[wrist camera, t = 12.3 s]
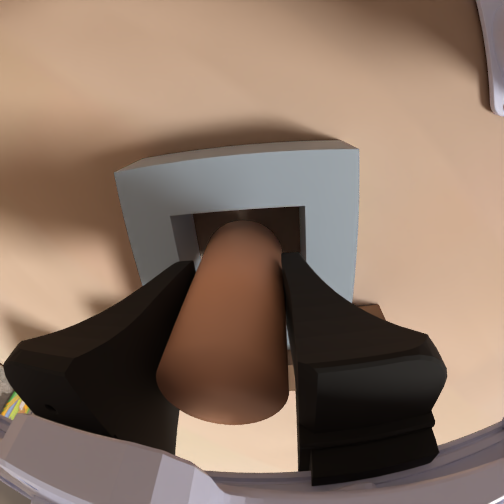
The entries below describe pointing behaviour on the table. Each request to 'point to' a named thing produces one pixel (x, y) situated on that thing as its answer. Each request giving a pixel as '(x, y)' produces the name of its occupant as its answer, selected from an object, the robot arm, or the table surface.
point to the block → (245, 201)
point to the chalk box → (10, 399)
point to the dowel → (231, 332)
